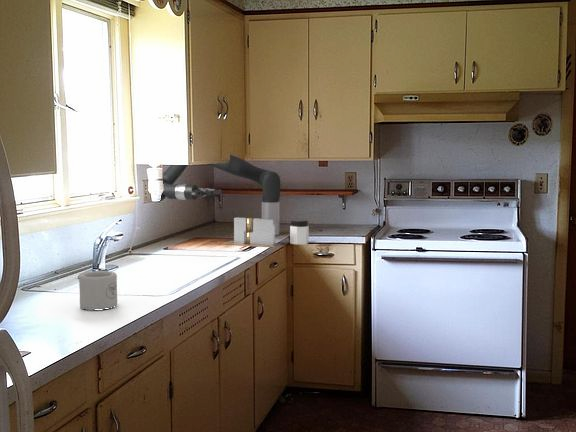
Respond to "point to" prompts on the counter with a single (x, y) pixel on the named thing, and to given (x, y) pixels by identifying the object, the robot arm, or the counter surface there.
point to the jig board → (248, 244)
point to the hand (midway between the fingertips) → (217, 192)
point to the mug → (98, 290)
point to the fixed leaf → (262, 232)
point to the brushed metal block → (241, 229)
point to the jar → (299, 231)
